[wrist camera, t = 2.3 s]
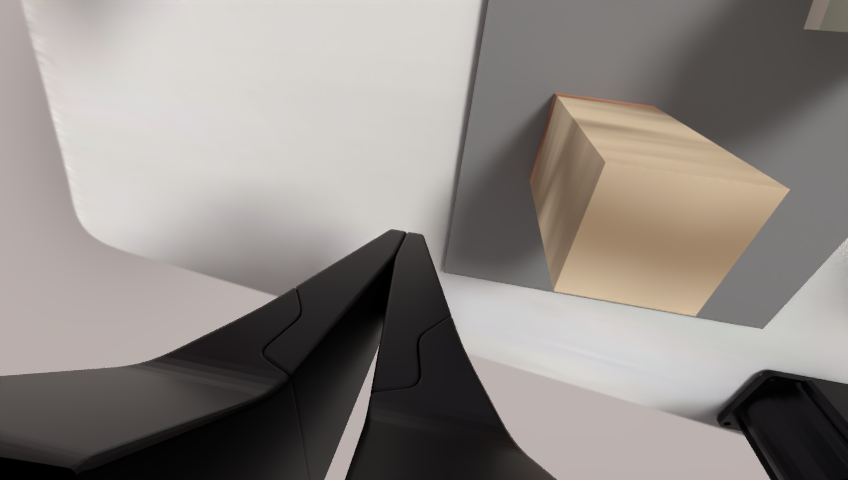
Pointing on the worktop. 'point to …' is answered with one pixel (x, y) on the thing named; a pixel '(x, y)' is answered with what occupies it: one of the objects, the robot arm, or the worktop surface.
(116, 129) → the worktop surface
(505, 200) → the mat
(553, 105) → the beech block
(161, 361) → the robot arm
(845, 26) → the sage block
